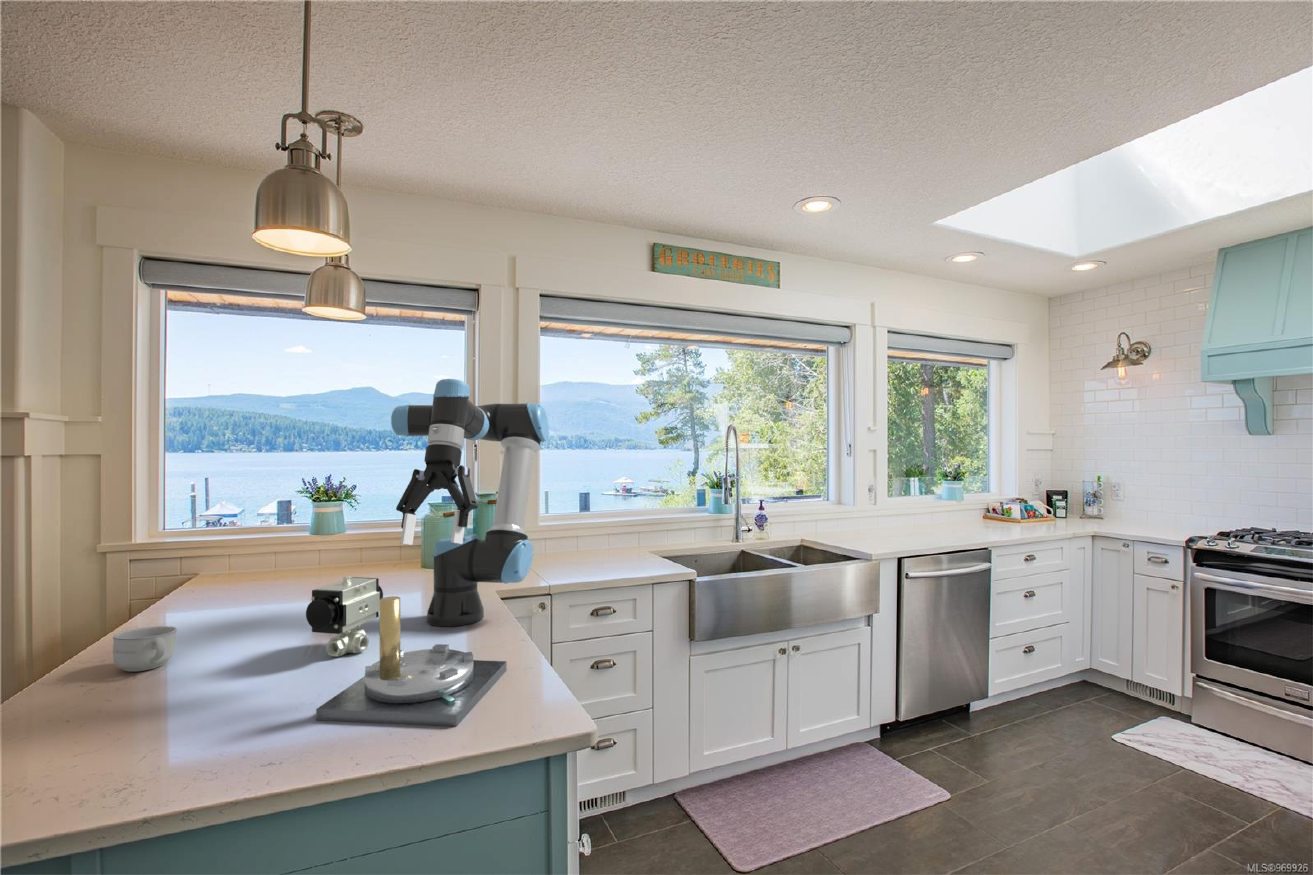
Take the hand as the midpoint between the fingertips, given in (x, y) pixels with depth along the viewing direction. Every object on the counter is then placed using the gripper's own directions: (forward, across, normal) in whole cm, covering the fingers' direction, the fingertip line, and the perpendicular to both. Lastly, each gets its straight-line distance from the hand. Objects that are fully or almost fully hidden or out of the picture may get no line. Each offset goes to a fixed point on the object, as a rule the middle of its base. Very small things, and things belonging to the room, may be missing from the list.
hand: (431, 544), depth 130 cm
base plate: (+29, +2, +1) cm, 29 cm away
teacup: (+28, -63, -13) cm, 70 cm away
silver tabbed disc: (+27, +2, 0) cm, 27 cm away
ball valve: (+24, -31, +12) cm, 41 cm away
